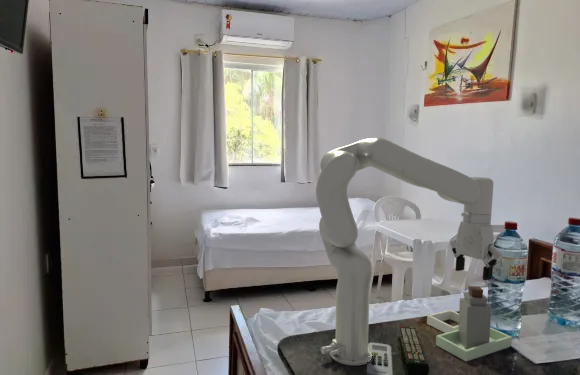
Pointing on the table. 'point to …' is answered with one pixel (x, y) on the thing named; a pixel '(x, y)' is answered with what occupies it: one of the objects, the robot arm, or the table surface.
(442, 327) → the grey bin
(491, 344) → the green bin
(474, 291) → the perfume bottle
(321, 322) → the table surface
